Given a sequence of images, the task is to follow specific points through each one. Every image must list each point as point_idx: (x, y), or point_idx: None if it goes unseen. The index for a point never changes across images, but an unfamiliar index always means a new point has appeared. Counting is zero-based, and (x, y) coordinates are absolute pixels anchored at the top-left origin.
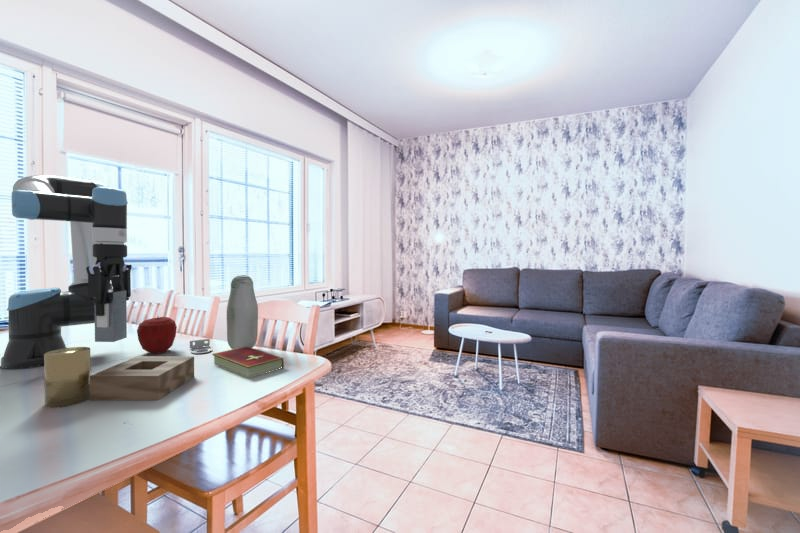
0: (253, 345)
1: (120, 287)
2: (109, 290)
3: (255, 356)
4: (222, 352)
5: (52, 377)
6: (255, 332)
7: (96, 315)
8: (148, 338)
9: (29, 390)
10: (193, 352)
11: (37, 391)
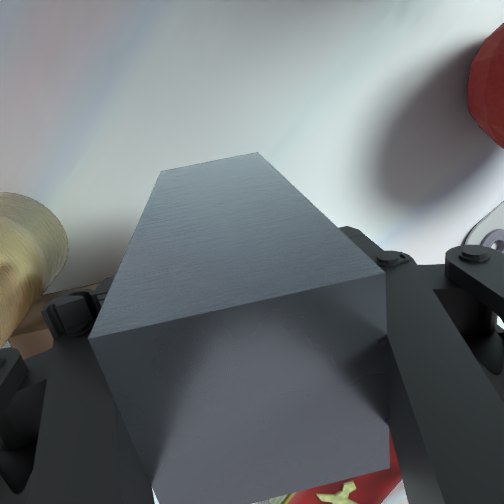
0: None
1: (398, 456)
2: (311, 354)
3: (347, 497)
4: None
5: None
6: None
7: (103, 283)
8: (492, 100)
9: (14, 6)
10: (474, 234)
11: (20, 53)
